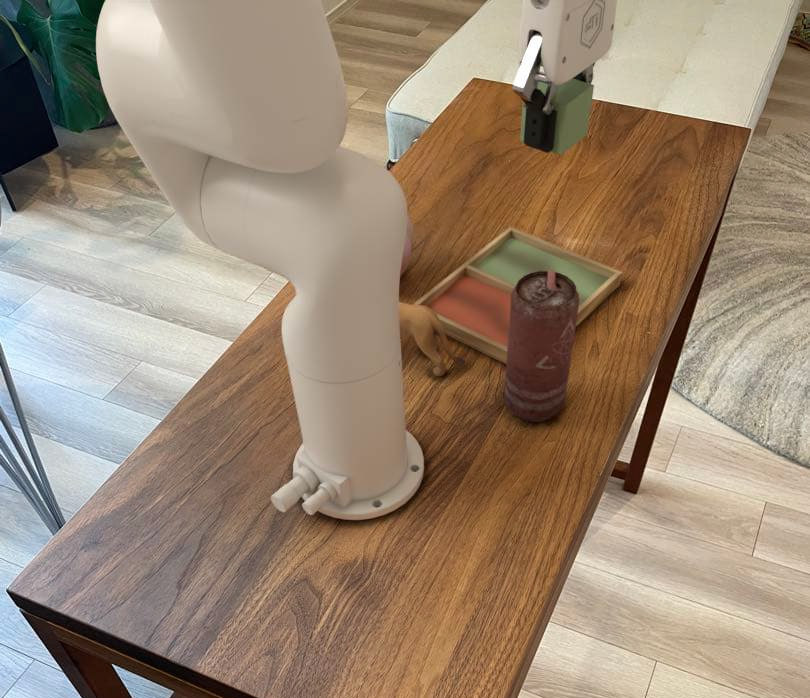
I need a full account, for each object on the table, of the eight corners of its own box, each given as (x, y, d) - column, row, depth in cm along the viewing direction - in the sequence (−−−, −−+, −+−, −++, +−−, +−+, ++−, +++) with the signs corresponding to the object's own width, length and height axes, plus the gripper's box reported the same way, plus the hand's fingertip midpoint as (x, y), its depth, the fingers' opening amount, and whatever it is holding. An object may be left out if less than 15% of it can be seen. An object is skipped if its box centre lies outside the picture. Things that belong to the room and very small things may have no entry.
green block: (560, 155, 83) (566, 105, 79) (519, 141, 85) (523, 91, 81) (587, 135, 86) (594, 84, 82) (546, 121, 88) (551, 71, 84)
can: (563, 382, 87) (579, 266, 76) (563, 425, 83) (581, 310, 72) (504, 380, 87) (512, 264, 76) (502, 423, 84) (511, 308, 72)
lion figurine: (329, 358, 91) (319, 289, 83) (346, 328, 94) (337, 258, 86) (459, 382, 87) (460, 312, 80) (472, 350, 90) (474, 279, 83)
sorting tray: (526, 374, 88) (527, 361, 86) (412, 318, 94) (411, 305, 93) (620, 285, 96) (622, 271, 95) (509, 239, 103) (510, 226, 101)
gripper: (557, -34, 66) (537, 184, 80) (664, -97, 73) (628, 112, 88) (480, -52, 69) (475, 160, 83) (591, -111, 76) (568, 93, 91)
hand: (554, 134), depth 85 cm, fingers closed on green block, 5 cm apart
